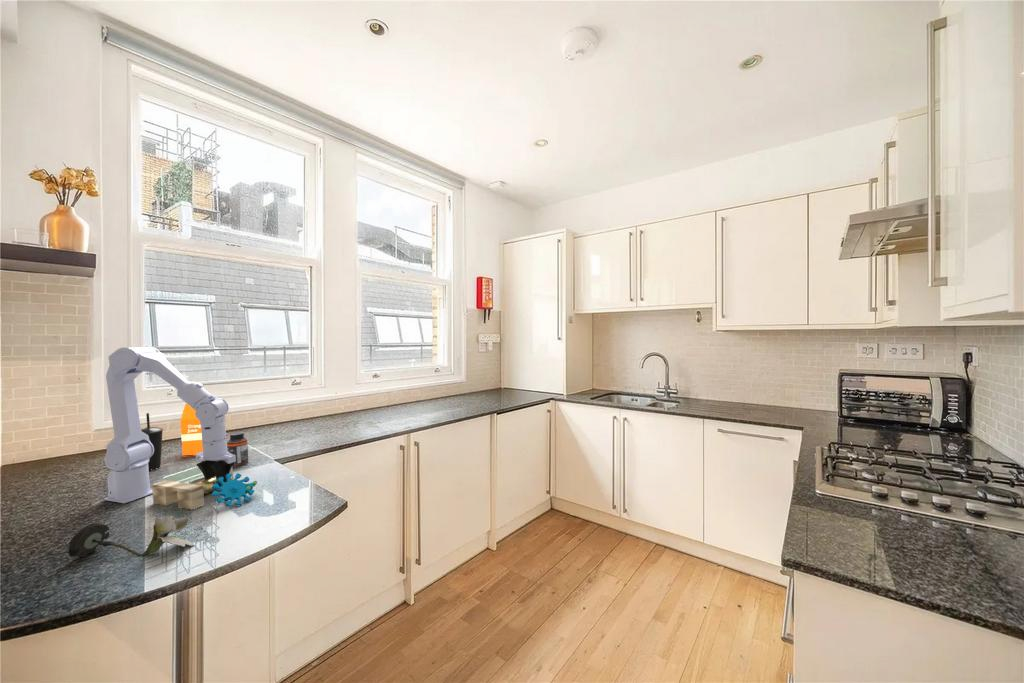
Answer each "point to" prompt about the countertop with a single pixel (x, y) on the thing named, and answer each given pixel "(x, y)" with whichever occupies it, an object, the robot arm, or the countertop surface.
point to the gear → (233, 489)
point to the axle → (208, 484)
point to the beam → (187, 494)
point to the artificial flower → (96, 534)
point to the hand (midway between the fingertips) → (217, 484)
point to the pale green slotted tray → (189, 476)
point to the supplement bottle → (238, 448)
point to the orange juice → (190, 432)
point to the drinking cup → (154, 444)
